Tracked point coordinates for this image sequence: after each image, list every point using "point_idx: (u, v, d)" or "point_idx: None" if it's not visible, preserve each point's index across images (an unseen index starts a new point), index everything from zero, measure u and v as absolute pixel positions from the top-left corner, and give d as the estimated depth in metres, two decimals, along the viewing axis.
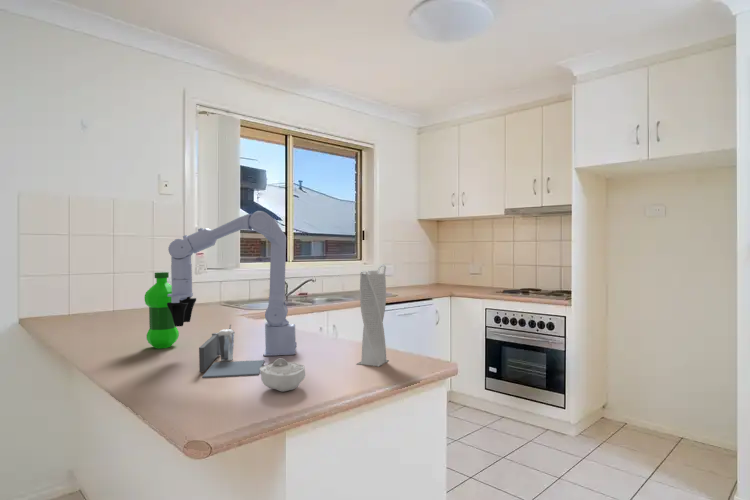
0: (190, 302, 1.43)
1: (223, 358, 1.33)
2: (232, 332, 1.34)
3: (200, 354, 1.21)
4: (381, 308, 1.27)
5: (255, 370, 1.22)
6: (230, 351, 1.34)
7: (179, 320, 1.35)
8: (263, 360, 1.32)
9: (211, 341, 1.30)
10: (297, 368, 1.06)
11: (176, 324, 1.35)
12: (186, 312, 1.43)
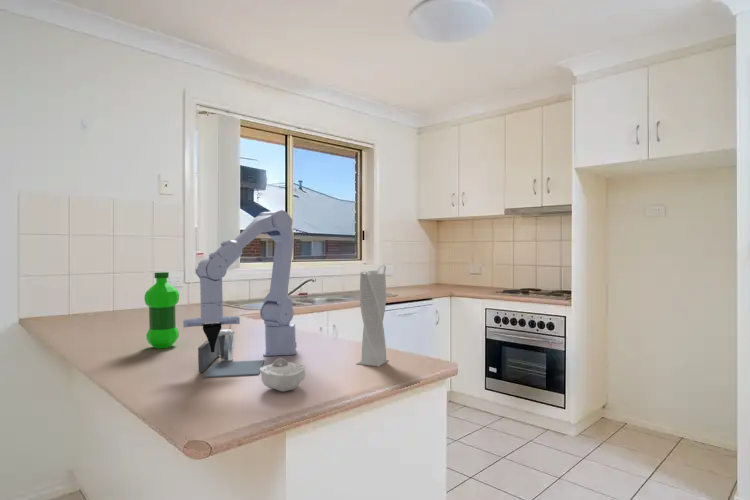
0: None
1: (223, 358, 1.33)
2: (232, 332, 1.34)
3: (199, 354, 1.21)
4: (381, 308, 1.27)
5: (255, 370, 1.22)
6: (230, 351, 1.34)
7: (210, 345, 1.26)
8: (263, 360, 1.32)
9: None
10: (297, 368, 1.06)
11: None
12: None
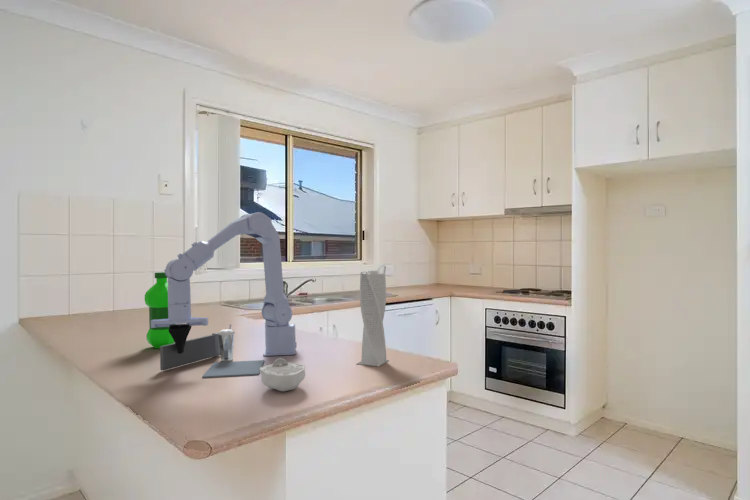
0: None
1: (223, 358, 1.33)
2: (232, 332, 1.34)
3: (160, 353, 1.23)
4: (381, 308, 1.27)
5: (255, 370, 1.22)
6: (230, 351, 1.34)
7: None
8: (263, 360, 1.32)
9: (191, 341, 1.31)
10: (297, 368, 1.06)
11: None
12: None
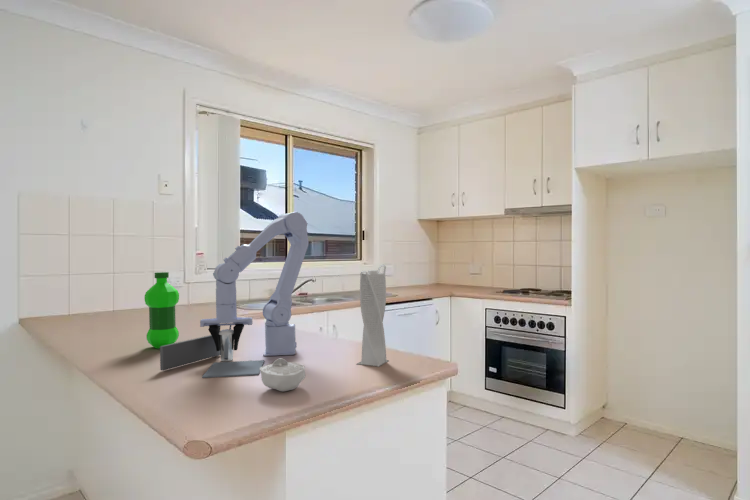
0: (234, 330, 1.34)
1: (223, 358, 1.33)
2: (232, 332, 1.34)
3: (160, 353, 1.23)
4: (381, 308, 1.27)
5: (255, 370, 1.22)
6: (230, 351, 1.34)
7: None
8: (263, 360, 1.32)
9: (191, 341, 1.31)
10: (297, 368, 1.06)
11: None
12: None
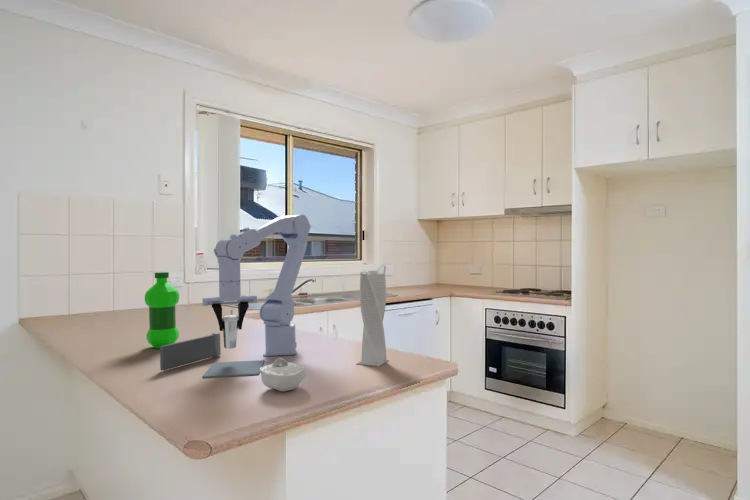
0: (239, 308, 1.29)
1: (228, 345, 1.28)
2: (238, 318, 1.29)
3: (160, 353, 1.23)
4: (381, 308, 1.27)
5: (255, 370, 1.22)
6: (235, 338, 1.29)
7: (219, 323, 1.28)
8: (263, 360, 1.32)
9: (191, 341, 1.31)
10: (297, 368, 1.06)
11: (219, 328, 1.29)
12: (239, 318, 1.30)
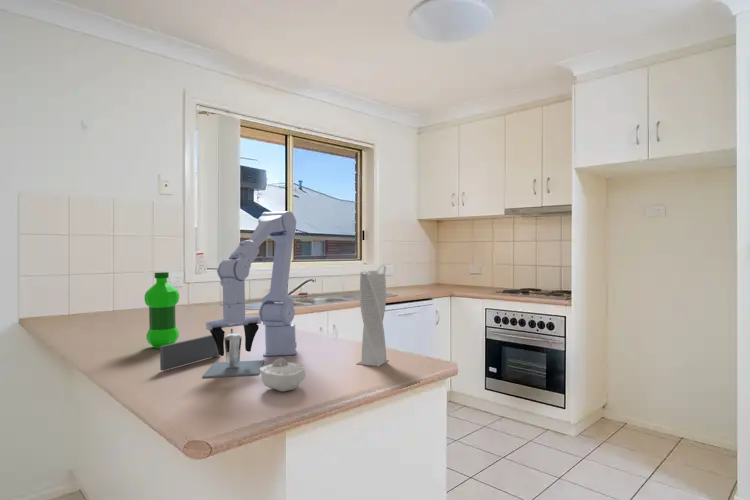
0: (249, 330, 1.25)
1: (232, 365, 1.24)
2: (241, 336, 1.26)
3: (160, 353, 1.23)
4: (381, 308, 1.27)
5: (255, 370, 1.22)
6: (239, 357, 1.25)
7: (219, 348, 1.22)
8: (263, 360, 1.32)
9: (191, 341, 1.31)
10: (297, 368, 1.06)
11: (218, 352, 1.23)
12: (247, 340, 1.27)
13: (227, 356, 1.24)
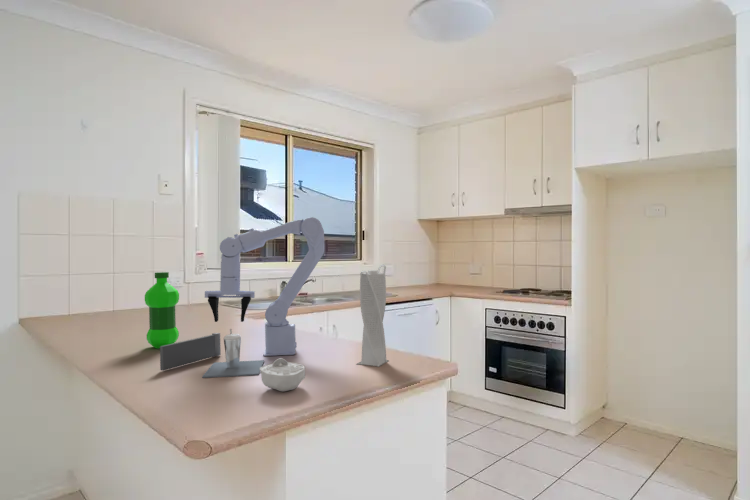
0: None
1: (232, 365, 1.24)
2: (240, 336, 1.25)
3: (160, 353, 1.23)
4: (381, 308, 1.27)
5: (255, 370, 1.22)
6: (238, 357, 1.25)
7: None
8: (263, 360, 1.32)
9: (191, 341, 1.31)
10: (297, 368, 1.06)
11: None
12: None
13: (227, 356, 1.24)
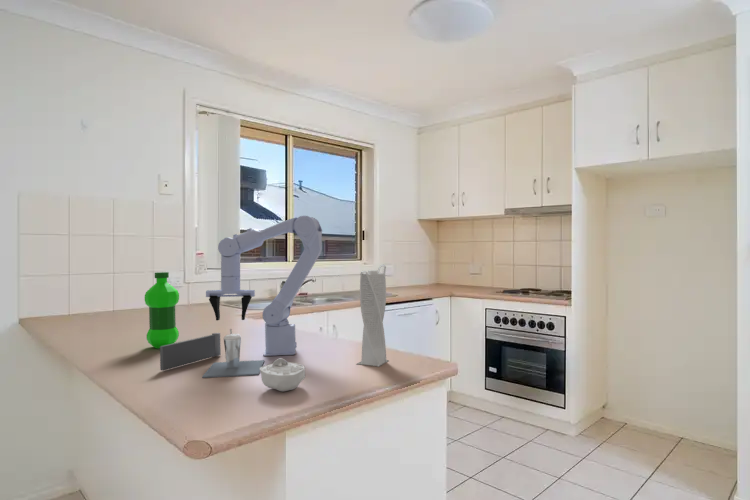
0: (242, 301, 1.43)
1: (232, 365, 1.24)
2: (240, 336, 1.25)
3: (160, 353, 1.23)
4: (381, 308, 1.27)
5: (255, 370, 1.22)
6: (238, 357, 1.25)
7: None
8: (263, 360, 1.32)
9: (191, 341, 1.31)
10: (297, 368, 1.06)
11: None
12: None
13: (227, 356, 1.24)
